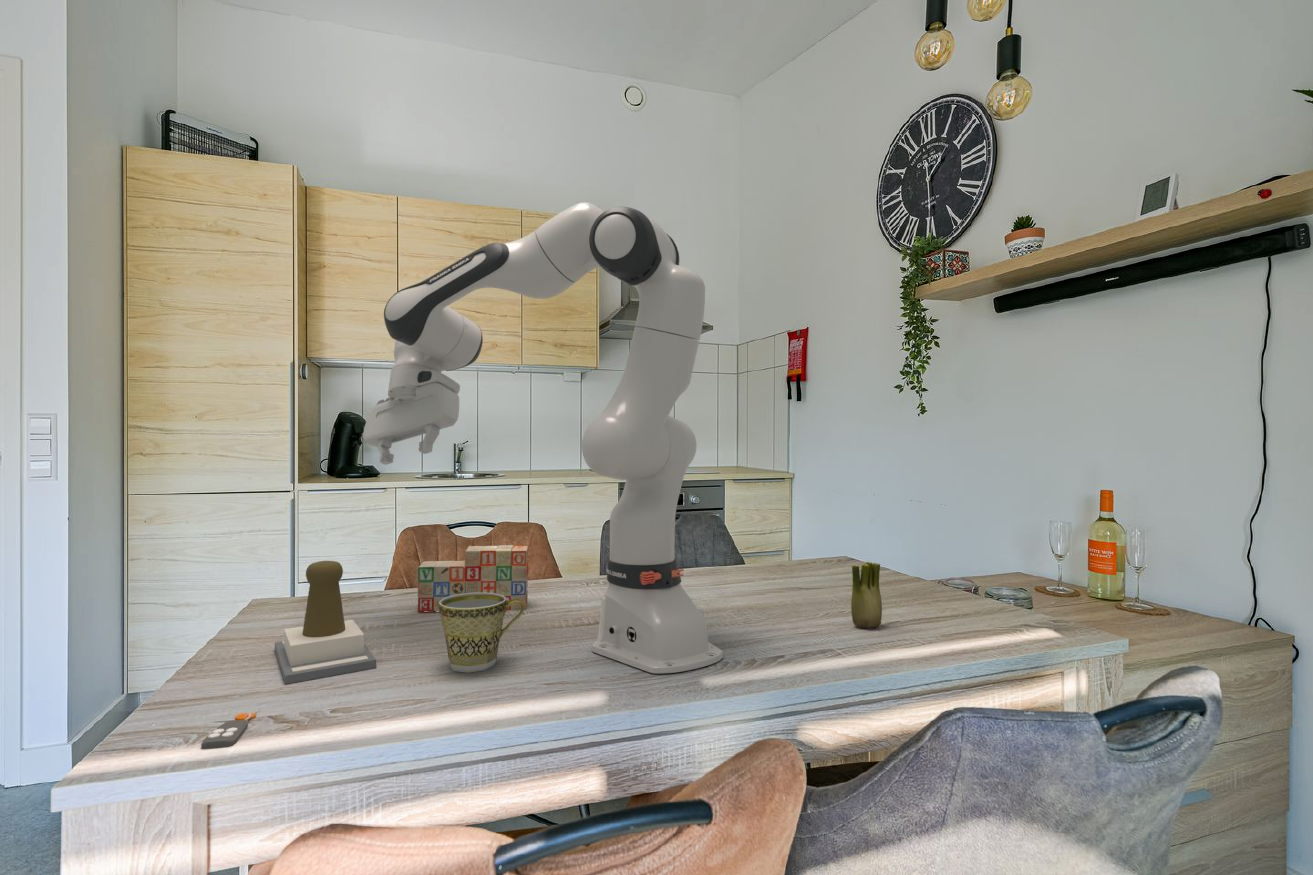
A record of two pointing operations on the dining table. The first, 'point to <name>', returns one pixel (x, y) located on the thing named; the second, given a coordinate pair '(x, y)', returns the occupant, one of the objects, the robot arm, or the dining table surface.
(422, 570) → the stack of blocks
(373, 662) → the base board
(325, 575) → the cork
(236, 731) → the key chain
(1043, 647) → the dining table surface
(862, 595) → the fennel bulb
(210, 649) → the dining table surface
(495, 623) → the ceramic cup
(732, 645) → the dining table surface
